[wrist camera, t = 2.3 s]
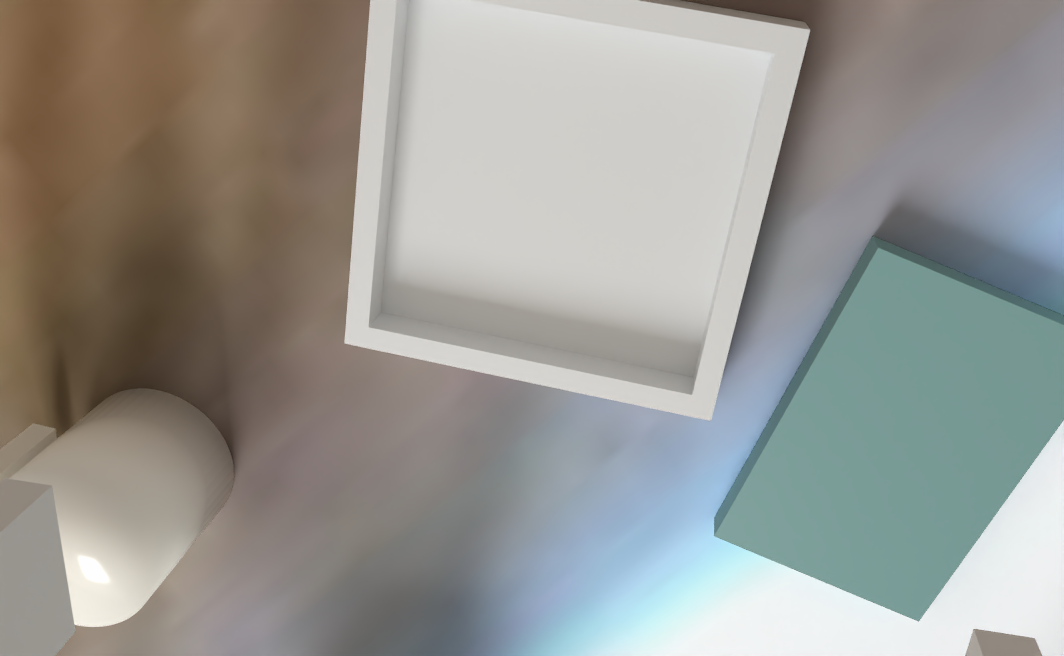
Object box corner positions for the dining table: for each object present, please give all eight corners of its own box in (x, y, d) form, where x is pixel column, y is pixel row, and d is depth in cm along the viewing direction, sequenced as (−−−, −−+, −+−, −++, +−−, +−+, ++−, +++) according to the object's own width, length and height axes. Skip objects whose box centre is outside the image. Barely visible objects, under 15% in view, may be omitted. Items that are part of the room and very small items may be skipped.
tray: (804, 21, 38) (810, 29, 35) (711, 394, 44) (710, 421, 42) (393, -49, 39) (374, -46, 37) (363, 321, 46) (344, 343, 43)
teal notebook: (1098, 326, 41) (1116, 347, 39) (910, 593, 47) (918, 621, 45) (871, 232, 41) (878, 247, 39) (714, 511, 47) (714, 536, 45)
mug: (236, 407, 49) (151, 496, 42) (232, 540, 52) (154, 644, 45) (48, 365, 50) (-66, 446, 43) (57, 499, 53) (-48, 594, 46)
